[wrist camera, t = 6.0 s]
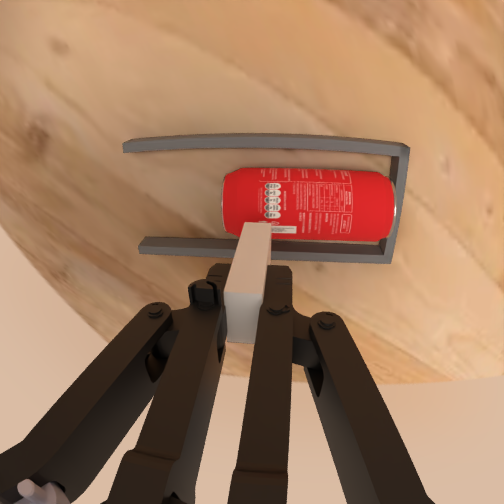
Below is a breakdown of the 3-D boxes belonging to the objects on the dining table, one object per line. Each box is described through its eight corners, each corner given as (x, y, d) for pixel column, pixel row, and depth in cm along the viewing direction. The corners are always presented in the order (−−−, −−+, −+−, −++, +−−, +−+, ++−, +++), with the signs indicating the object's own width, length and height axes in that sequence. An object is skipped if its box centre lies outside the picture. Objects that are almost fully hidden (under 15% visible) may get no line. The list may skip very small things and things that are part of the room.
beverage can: (223, 155, 22) (392, 160, 21) (234, 186, 27) (375, 190, 26) (217, 225, 21) (401, 230, 19) (230, 245, 26) (379, 249, 24)
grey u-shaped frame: (146, 244, 29) (139, 253, 28) (132, 139, 24) (122, 143, 23) (385, 253, 27) (390, 263, 26) (402, 143, 22) (410, 147, 21)
